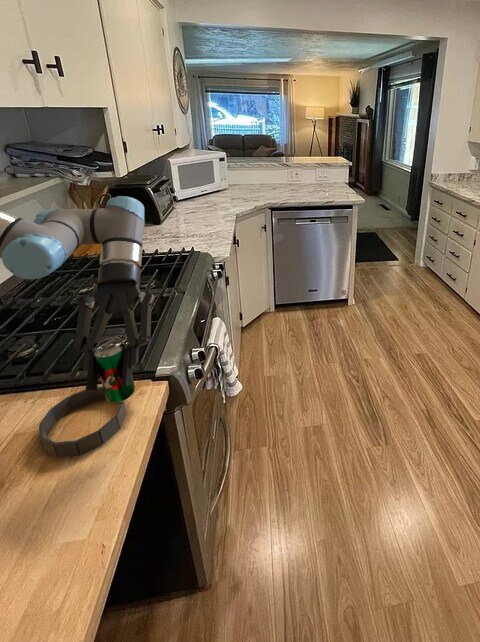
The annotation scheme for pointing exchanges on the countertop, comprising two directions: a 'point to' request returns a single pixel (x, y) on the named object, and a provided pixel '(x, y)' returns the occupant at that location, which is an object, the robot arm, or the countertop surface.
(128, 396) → the soda can
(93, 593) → the countertop surface
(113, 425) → the gray segmented ring
